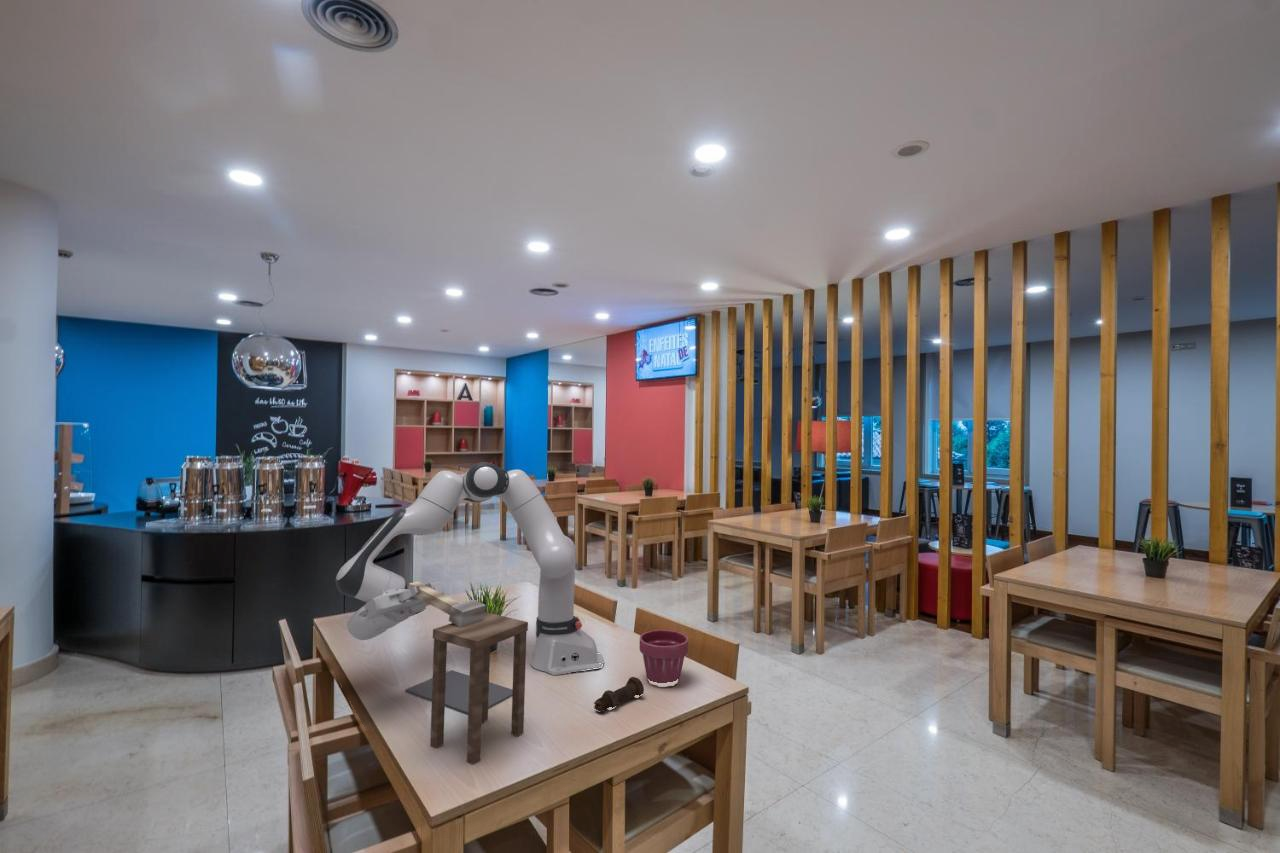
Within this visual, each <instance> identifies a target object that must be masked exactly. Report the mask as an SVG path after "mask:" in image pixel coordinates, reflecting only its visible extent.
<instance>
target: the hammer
mask: <svg viewBox="0 0 1280 853" xmlns="http://www.w3.org/2000/svg"><path fill="white" fill-rule="evenodd" d="M416 586H419V587H420V591H421V592H420V593H419V594H417V595H414V596H415V597H417V598H419V599H421V600H422V601H424V602H426V603H428V604H430V605H431V607H434V608H435V609H437V610H440V611H441V612H443V613H445V614H447V615H449V618H448V622H450V623H454V624H455V625H457V626H459V627H462V626H465V625H468V624H471V623H474V622H477V621H480V620H483V617H484V612H486V604H484V603H482V602H480V601H478V600H476V599H470V600H467V601H463V602H460V601H457V600H455V599H453V598H452V597H449V596H447V595H446V594H444V595H443V594H442V593H440V592H438V591H436V590H434V589H432V588H430V587H428V586H426V584H424V583H422V582H420V581H415V582H409V583H408V586H407V589H408V590H409V589H411V588H413V587H416ZM430 605H429V606H430Z"/></svg>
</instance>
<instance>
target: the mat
mask: <svg viewBox="0 0 1280 853" xmlns="http://www.w3.org/2000/svg"><path fill="white" fill-rule="evenodd" d="M469 677H470V674H469V675H468V674H465V673H462V672H459V671H455V670H453V669H451V670H449V671H446V686H445V708H448V709H451V710H453V711H456V712H459V713H462V714H465V715H466V716H468V708H469ZM432 681H433V677H432V678H430V679H427V680H425V681H423V682H420V683H418V684H415V685H413V686H411V687H408V688H406V689H405V688H404V689H405V690H404V692H405V693H407V692H408V694H410V693H411V695H413V696H415V695H416V696H415V697H418V696H419V698H421V699H424V700H426V699H427V701H429V700H430V701H429V702H432ZM512 692H513V688H509V687H506V686H503V685H501V684H497V683H494V682H490V681H489V698H488V710H489V709H491V708H493V707H495V706H497V705H499V704H500V703H502V702H504V701H506V700H508V699H510V698H511V697H510V696H512ZM509 697H510V698H509ZM507 698H508V699H507ZM505 699H506V700H505ZM503 700H504V701H503ZM498 703H499V704H498ZM496 704H497V705H496Z"/></svg>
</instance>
